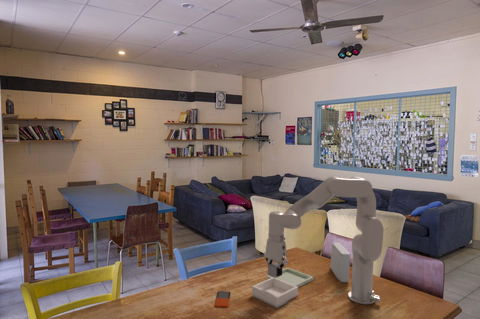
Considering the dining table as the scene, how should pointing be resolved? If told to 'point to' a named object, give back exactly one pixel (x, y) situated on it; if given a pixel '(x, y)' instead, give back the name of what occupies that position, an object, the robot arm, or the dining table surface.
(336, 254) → the skincare box
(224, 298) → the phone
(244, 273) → the dining table surface
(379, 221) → the robot arm
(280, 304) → the white bin
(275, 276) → the slate stone block
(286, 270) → the green tray
